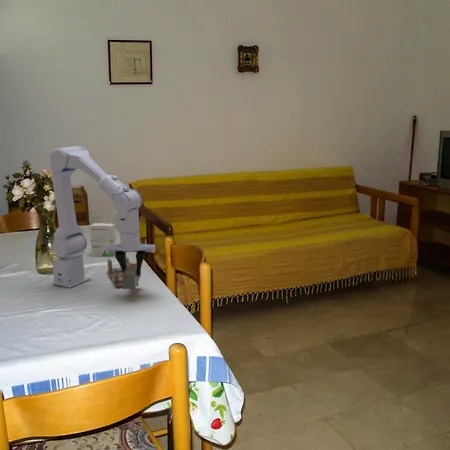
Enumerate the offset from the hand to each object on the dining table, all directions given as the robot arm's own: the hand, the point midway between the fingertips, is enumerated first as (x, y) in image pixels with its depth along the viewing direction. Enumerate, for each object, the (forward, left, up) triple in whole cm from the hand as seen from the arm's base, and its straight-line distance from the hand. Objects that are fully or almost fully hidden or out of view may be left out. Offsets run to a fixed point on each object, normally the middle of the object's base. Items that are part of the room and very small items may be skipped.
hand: (131, 274), depth 162 cm
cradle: (+9, +12, -6) cm, 16 cm away
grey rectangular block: (0, 0, -2) cm, 2 cm away
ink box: (+28, +37, -6) cm, 47 cm away
